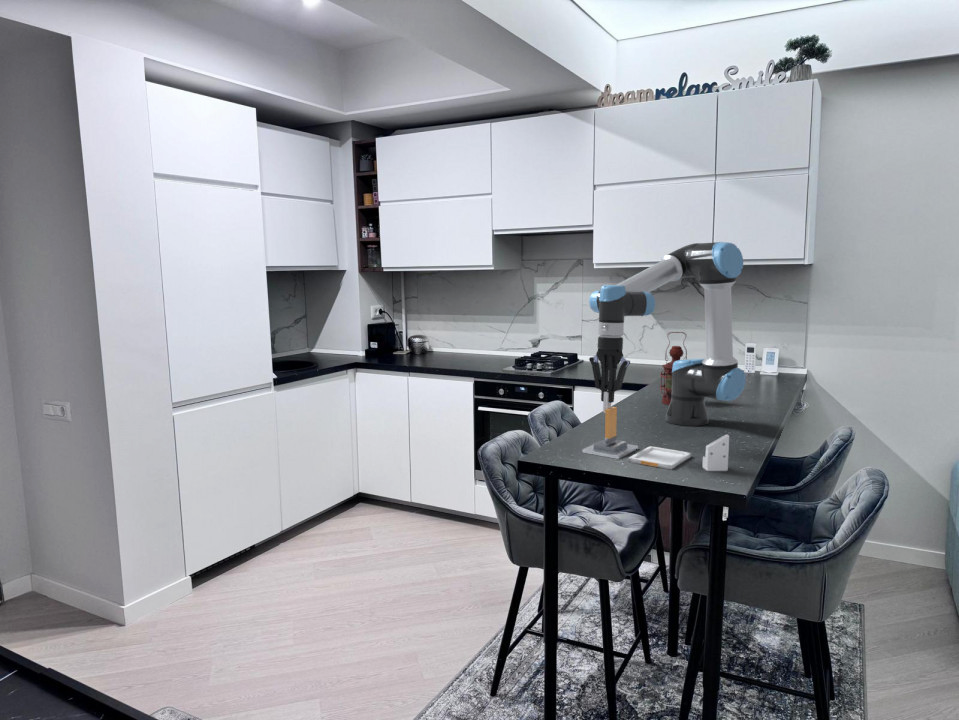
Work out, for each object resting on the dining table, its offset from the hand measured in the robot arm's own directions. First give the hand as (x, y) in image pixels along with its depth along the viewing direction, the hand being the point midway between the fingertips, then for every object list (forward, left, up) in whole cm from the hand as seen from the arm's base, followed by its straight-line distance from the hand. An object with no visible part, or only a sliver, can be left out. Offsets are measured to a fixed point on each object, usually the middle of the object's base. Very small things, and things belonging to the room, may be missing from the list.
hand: (606, 412), depth 205 cm
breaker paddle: (0, +1, -8) cm, 9 cm away
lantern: (-83, -10, -12) cm, 85 cm away
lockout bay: (0, +17, -12) cm, 21 cm away
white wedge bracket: (0, +33, -12) cm, 36 cm away
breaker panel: (0, +1, -12) cm, 12 cm away
